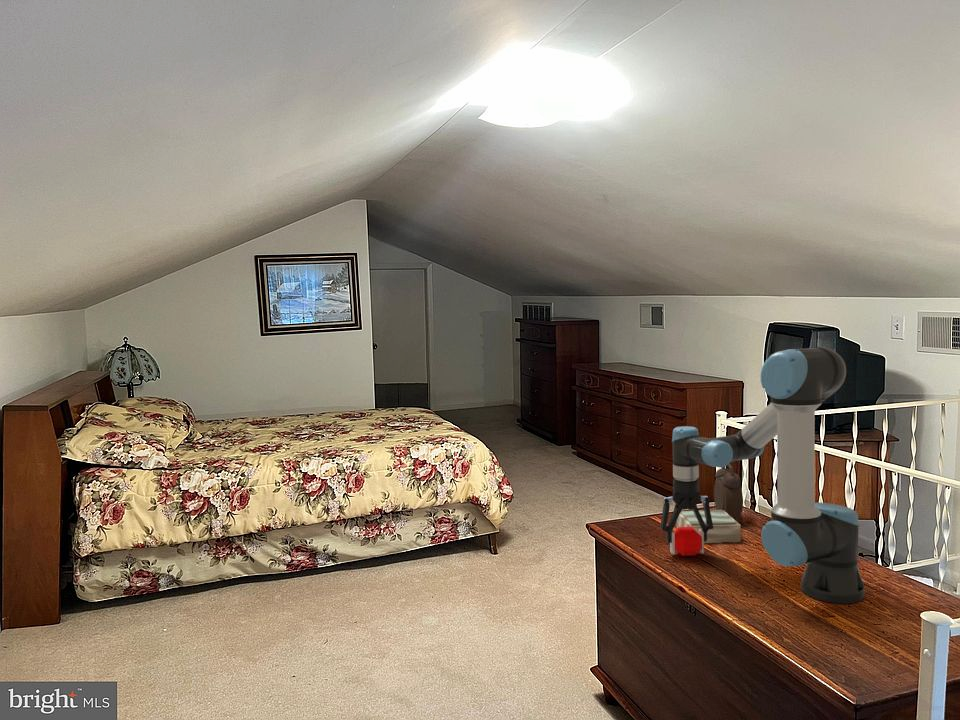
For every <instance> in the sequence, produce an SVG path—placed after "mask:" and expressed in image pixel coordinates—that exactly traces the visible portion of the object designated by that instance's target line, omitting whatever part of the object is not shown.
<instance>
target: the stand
mask: <svg viewBox="0 0 960 720" xmlns="http://www.w3.org/2000/svg"><path fill="white" fill-rule="evenodd" d="M699 512H700V515H701V517H702V519H703V521H704V523H705V525H707V523H706V518H705V513H704V509H701V510H699ZM710 512H711V518H712V523H713V529H709V530H708V532H707V541H706V542H704V544H718V543H719V544H723V543H722V542H729V543H741V535H742V534H741V532H742V531H741V527H742V526H741V524H740V523H739V521H738V522H737V521H736V519H735V518H732V517H731V516H730V515H729V514H727V513H726V512H725V511H724V510H716V509H712V510H711V509H710ZM678 527H692V528H693V529H694V530H695V531H697V532H698V533H699V529H701V527H700V525H699V522H698V520H697V518H696V516H695V514H694V512H693V510H682V511H681V513H680V514H679V516H678V519H677V521H676V529H677V528H678ZM701 530H702V529H701Z"/></svg>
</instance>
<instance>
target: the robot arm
mask: <svg viewBox="0 0 960 720" xmlns="http://www.w3.org/2000/svg"><path fill="white" fill-rule="evenodd" d="M846 376H847V366H846V362H845V360H844V359H843V357H842V356H841V355H840V354H839V353H838V352H837V351H835V350H832V349H830V348H827V347H823V346H817V347H810V348H809V347H807V348H791V349H789V348H788V349H785V350H780V351H776V352H774V353H772V354H770V356H769V357H768V358H767V359H765V361H764V362H763V365H762V367H761V370H760V384H761V387H762V388H763V389H764V392H765V393H766V394H767V396H769V397H770V402H769V404H768V405H767V406H765V408H764V409H762V410H761V411H760V412H759V413H758V414H757V415H755V416H754V417H753V419H752V420H750V422H748V423H747V424H746V425H745V426H744V427H743V428H742V429H740V430H739V431H738V432H737V433H736V434H731V435H725V436H719V437H718V436H717V437H709V438H708V437H704V436H700V433H699V429H698V428H697V427H695V426H688V425H687V426H686V425H685V426H684V425H683V426H676V427H675V428H673V430H672V436H671V437H672V439H671V443H672V446H671V447H672V477H673V479H672V488H673V489H672V491H673V492H672V494H671V496H668V497H666V496H663V497H662V503H663V506H662V513H661V519H660V525H659V527H660V529H661V530H662V531H663V532H666V542H667V543H668V544H669V552H670V553H671V554H672V555H676V549H675V533H674V531H673V530H674V528H675V527H676V526H675V525H676V524H677V519H678V516H679V514H680V513H681V511H686V510H691V511H693V512H694V514H695V516H696V518H697V520H698V522H699V525H700V527H701V529H702V530H701V529H699V534H700V535H701V537H702V549H701V550H700V551H699V552H700V554H704V553H705V543H704V542H706V541H707V532H708V530H709V529H713V523H712V518H711V512H710V510H711V508H710V502H711V498H710V497H709V496H708V495H707V494H706V495H701V494H700V480H699V479H698V478H700V469H699V468H700V467H699V464H703V465H706V466H709V467H712V468H721V467H725V468H727V467H728V464H731V463H732V462H736V461H742V460H752V459H754V458H758V457H760V456H761V455H762V454H763V453H764V449H765V446H766V445H767V444H768V443H769V442H771V440H773V439H774V438H775V437H776V438H777V439H776V441H777V445H776V446H777V450H776V451H777V454H776V455H777V457H776V458H777V461H776V462H777V467H776V468H777V503H776V504H774V506H772V507H771V509H770V515H771V516H770V519H771V520H770V521H767V522H766V523H765V524H764V525H763V526H762V529H761V533H760V534H761V542H762V545H763V548H764V550H765V552H766V553H767V554H768V555H769V557H770V558H771V559H772V561H774V562H776V563H777V564H779V565H781V566H783V567H788V568H789V567H790V568H791V567H801V566H803V565H805V564H806V566H805V568H804V571H803V574H802V577H801V580H800V589H801V591H802V592H803V593H804V594H805V595H806V596H808V597H810V598H813V599H816V600H819V601H822V602H827V603H831V604H833V603H834V604H854V603H859V602H861V601H862V600H864V599H865V596H866V594H865V593H866V592H865V591H866V588H865V587H866V586H865V585H864V581H863V579H862V576H861V572H860V569H859V564H858V563H859V562H858V560H859V559H858V557H859V527H860V524H859V514H858V513H857V512H856V511H855V510H854V509H853V508H850V507H847V506H845V505H841V504H835V503H829V502H828V503H827V502H815V492H816V491H815V486H816V485H815V477H816V476H815V467H816V466H815V465H816V463H815V462H816V461H815V459H816V457H815V455H816V454H815V453H816V452H815V449H816V448H815V447H816V445H815V438H816V437H815V429H816V428H815V424H816V423H815V421H816V418H815V413H816V410H817V409H818V408H819V407H820V406H821V405H822V402H825V401H826V400H827V399H828V398H830V397H831V396H833V394H835V392H837V391H838V390H839V389H840V388H841V387H842V386H843V384H844V382H845V379H846ZM672 502H674V504H675V505H674V507H673V511H672V513H671V515H670V517H669V514H670V507H671V506H670V505H671V504H672ZM699 502H701V503H702V506H703V510H704V513H705V518H706V523H707V525H705V523H704V521H703V519H702V517H701V515H700V512H699V511H700V510H699V508H698V506H697V505H698V503H699ZM668 520H669V521H668Z"/></svg>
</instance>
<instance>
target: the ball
mask: <svg viewBox="0 0 960 720" xmlns="http://www.w3.org/2000/svg"><path fill="white" fill-rule="evenodd" d="M673 532H674V533H675V551H676V552H677V553H679V555H681V556H682V557H688V556H697V554H698V553H699V552H700V550H701V549H702V537H701V535H700V534H699V533H698V532H697V531H695V530H694V529H693V528H692V527H678V528H677V527H676V529H675V530H674V531H673Z"/></svg>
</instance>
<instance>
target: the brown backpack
mask: <svg viewBox="0 0 960 720" xmlns="http://www.w3.org/2000/svg"><path fill="white" fill-rule="evenodd" d="M727 467H728V468H727ZM727 467H720V468H719V469H717V470H716V472H715V475H714V477H715V481H714V486H713V499H714V505H715V510H724V511H725V512H726V513H727V514H729V515H730V516H731V517H732V518H733V519H735V521H736V522H738V523H739V517H741V515H742V512H743V508H744V496H743V495H744V494H743V489H742V486H741V477H740V476H739V475H738V473H735V472H734V469H733V466H732V464H731V463H729V464H728V465H727Z"/></svg>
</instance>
